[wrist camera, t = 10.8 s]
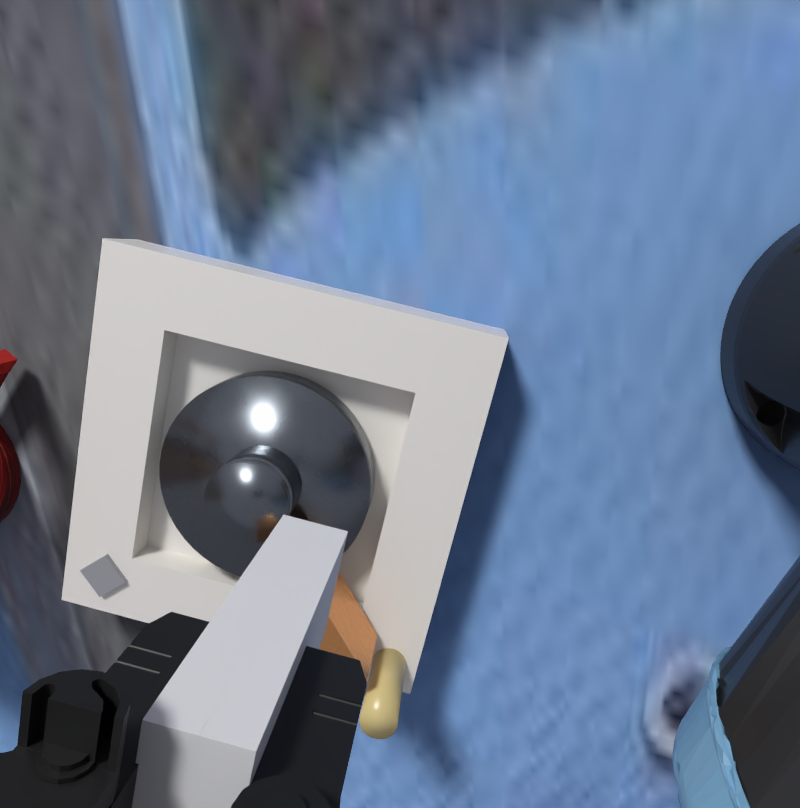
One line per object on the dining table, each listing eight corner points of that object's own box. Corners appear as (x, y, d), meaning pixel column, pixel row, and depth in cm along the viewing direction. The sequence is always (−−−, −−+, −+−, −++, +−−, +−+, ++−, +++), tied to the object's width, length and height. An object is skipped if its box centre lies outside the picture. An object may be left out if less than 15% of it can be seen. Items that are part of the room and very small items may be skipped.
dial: (136, 428, 38) (77, 460, 32) (309, 333, 36) (279, 349, 30) (282, 660, 41) (252, 727, 35) (451, 585, 39) (449, 645, 33)
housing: (504, 329, 37) (516, 353, 29) (414, 655, 43) (402, 757, 34) (137, 239, 38) (43, 236, 30) (95, 570, 43) (5, 648, 35)
